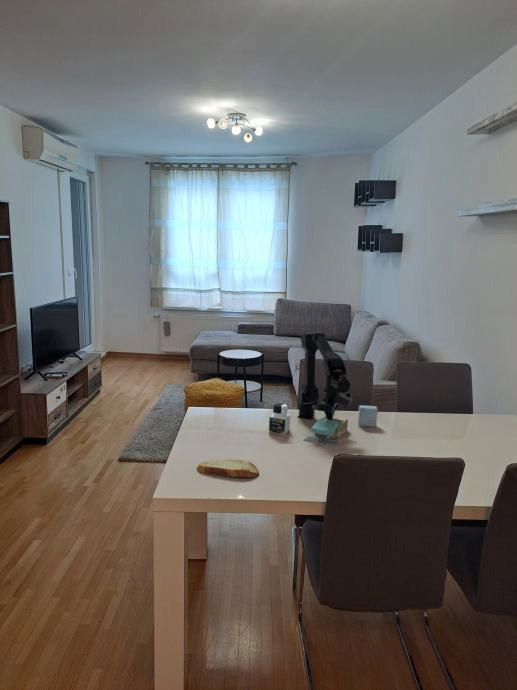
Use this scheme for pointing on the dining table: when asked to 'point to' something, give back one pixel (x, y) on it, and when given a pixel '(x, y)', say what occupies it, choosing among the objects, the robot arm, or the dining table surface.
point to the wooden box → (340, 429)
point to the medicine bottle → (279, 419)
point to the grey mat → (322, 441)
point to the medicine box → (367, 416)
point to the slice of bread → (229, 468)
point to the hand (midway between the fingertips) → (330, 422)
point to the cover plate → (325, 427)
